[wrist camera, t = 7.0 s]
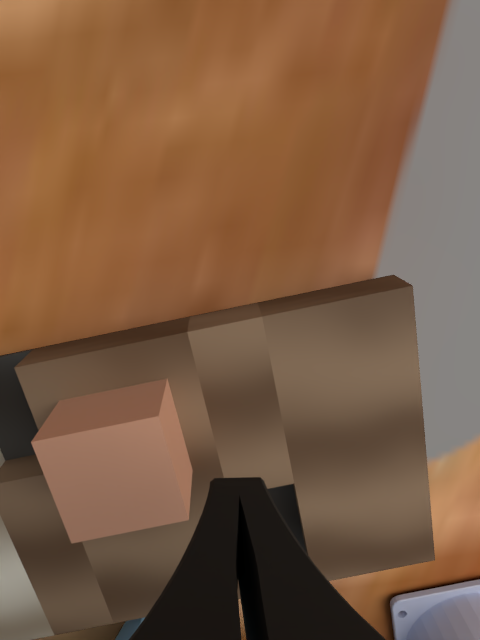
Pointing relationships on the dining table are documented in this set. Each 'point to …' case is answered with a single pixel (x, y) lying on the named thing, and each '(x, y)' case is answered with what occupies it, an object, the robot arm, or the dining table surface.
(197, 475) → the board
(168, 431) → the block
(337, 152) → the dining table surface
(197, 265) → the dining table surface
